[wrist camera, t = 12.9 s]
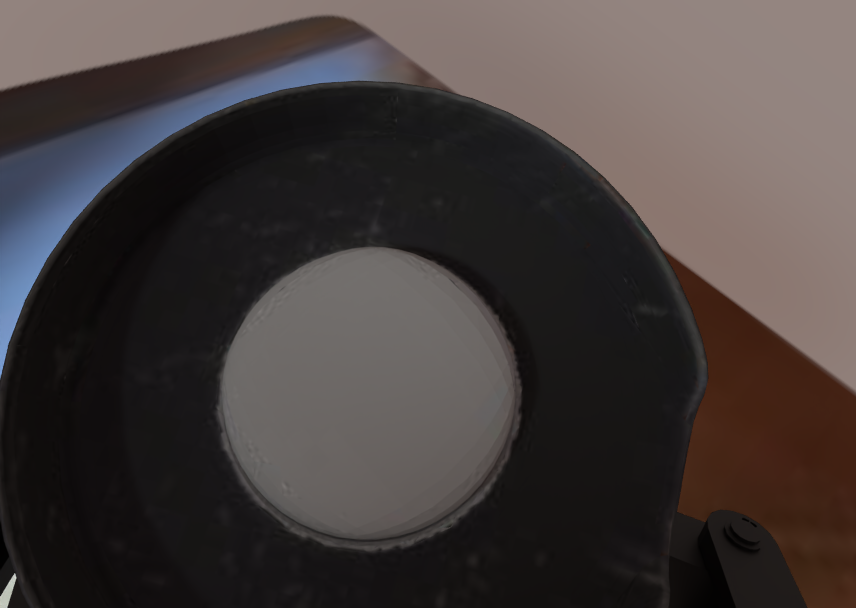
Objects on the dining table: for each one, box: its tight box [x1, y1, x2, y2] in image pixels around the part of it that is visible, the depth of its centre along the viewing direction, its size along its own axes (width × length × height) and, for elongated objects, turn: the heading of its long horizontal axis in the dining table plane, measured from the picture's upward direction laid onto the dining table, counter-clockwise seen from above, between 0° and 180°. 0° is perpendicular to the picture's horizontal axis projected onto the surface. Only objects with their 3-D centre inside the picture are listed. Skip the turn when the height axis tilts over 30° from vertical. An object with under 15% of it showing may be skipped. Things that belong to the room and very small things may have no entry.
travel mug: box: [0, 81, 708, 608], centre depth 15 cm, size 8×8×20 cm
